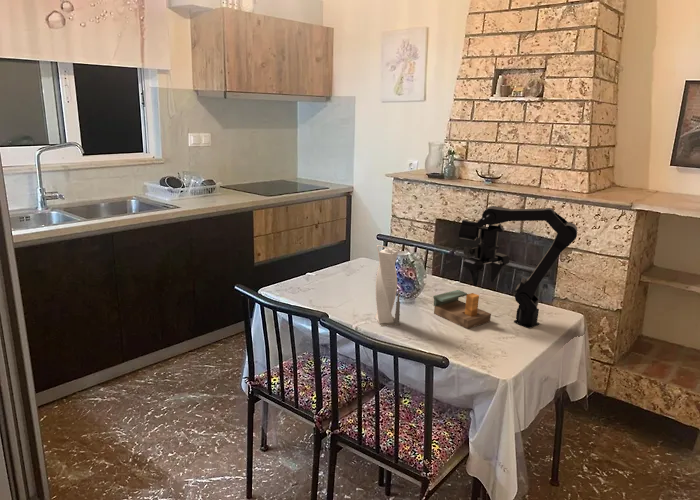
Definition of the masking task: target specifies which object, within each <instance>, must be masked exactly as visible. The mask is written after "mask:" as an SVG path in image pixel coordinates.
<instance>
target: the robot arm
mask: <svg viewBox="0 0 700 500" xmlns="http://www.w3.org/2000/svg"><path fill="white" fill-rule="evenodd" d="M517 221H518V222H542V221H543V222H546V223H547V224H548V225H549V227H551V228H552V229H553V231H554V232H555V233H556V234H555V237H554V240H553V242H552V244H551V245H550V247H549V249H548V250H547V252H546V253H545V254H544V256H543V257H542V259H541V260H540V261H539V263H538V265H537V266H536V267H535V269H534V270H533V271H532V273H531V275H530V276H529V277H527V279H526V278H525V277H522V279H521V281H520V283H518V284H517V285H516V288H515V290H514V292H515V293H514V294H515V295H514V299H515V301H516V303H517V304H518V307H517V308H516V316H515V320H514V321H513V323H514V324H517V325H519V326H522V327H523V328H527V329H531V328H533V327H537V326H539V325H540V322H538V318H539V313H540V309H539V308H538V305H539V303H540V298H538V297H537V295H536V291H537V289H538V286H539V285H540V283H541V282H542V280H543V279H544V278H545V276H546V275H547V274H548V271H549V270H550V269H551V268H552V266H553V265H554V263H555V262H556V261H557V259H558V257H559V256H560V254H561V253H563V251H564V250H565V249H566V248H568V247H569V246H570V245H571V244H572V243H574V241H575V240H576V239H577V238H578V237H577V236H578V226H577V225H576V224H575V223H574V222H571V221H569V222H568V221H567V220H566V218H564V217H563V216H561V215H560V214H559V213H558V212H556V211H555V210H554V209H553V208H551V207H546V208H514V209H513V208H506V207H504V206H495V205H491V206H490V205H489V206H488V207H486V209H485V210H483V212H482V215H481V218H480V219H478V220H477V221H474V220H473V221H472V220H468V219H463V220H461V225H460V228H459V231H458V238H459V239H461V240H467V241H468V240H469V241H476V240H477V239H479V238H480V243H477V245H476V247H472V246H471V245H469V246H464V248H463V256H466V258H465V259H464V260H463V262H462V267H463V268H465V269H466V270H468V271H469V272H470V273H469V274H470V276H471V279H472V283H473V286H474V287H478V284H479V283H480V280H481V277H482V274H483V272H484V270H483V268H484V265H488V264H489V265H490V282H491V283H495V281H496V279H497V278H498V277H499V275H500V274H501V272H502V271H503V270H504V268H505V267H507V264H509V263H510V257H509V255H508V254H504V253H500V252H497V250H500V246H499V245H498V237H499V232H500V233H503V232H504V231H505V227H504V226H502V224H503V223H504V224H505V223H507V222H517ZM487 225H488V226H487ZM473 257H474V258H473Z"/></svg>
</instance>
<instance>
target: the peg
mask: <svg viewBox="0 0 700 500" xmlns="http://www.w3.org/2000/svg"><path fill="white" fill-rule="evenodd" d="M465 297H466V298H465V303H466V306H465V314H466V315H468V316H471V317H473V316H476V315H477V310H478V309H479V299H480V295H479V294H476V293H474V292H470V293H467V296H465Z"/></svg>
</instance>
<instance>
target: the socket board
mask: <svg viewBox="0 0 700 500" xmlns="http://www.w3.org/2000/svg"><path fill="white" fill-rule="evenodd" d="M467 294H468V293H467V292H465V291H462V290H461V289H456V290H452V291H449V292H445V293H440V294H435V295H433V296H432V297H433V306H434V309H433V310H434V311H433V314H434V315H436V316H438V317H441V318H443V319H445V320H447V321H448V322H449V321H450V322H451V323H454V324H455V325H457V326H460V327H462V328H464V329H467V330H469V329H471V328H474V327H478V326H481V325H484V324H487V323H488V324H489V323H491V319H492V318H491V317H492V316H491V315H492V314H491V313H490V312H487V311H485V310H482V309H481V308H478V310H477V315H476V316H473V317H471V316H468V315H466V314H465V306H466V302H463V301H462V300H459V299H460V298H463V297H466V296H467Z"/></svg>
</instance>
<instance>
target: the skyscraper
mask: <svg viewBox="0 0 700 500" xmlns="http://www.w3.org/2000/svg"><path fill="white" fill-rule="evenodd" d="M379 247H381V248H384V249H382V250H379ZM376 250H377V255H378V263H379V264H378V267H377V272H376V277H375V303H376V304H375V305H376V314H375V317H374V319H375V318H376V319H377V321H376V322H377V323H378V324H379V326H380V325H381V326H380V327H388V326H387V325H392V326H400V325H401V323H400V316H401V314H400V309H401V302H400V296H401V295H400V289H398V275H397V268H396V261H397V258H398V254H399V250H398V249H397V248H395V247H392V246H386V245H381V244H377V245H376ZM397 290H398V292H397ZM394 304H395V313H394V316H393V314H392V311H393V308H394ZM376 319H375V320H376Z"/></svg>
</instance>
